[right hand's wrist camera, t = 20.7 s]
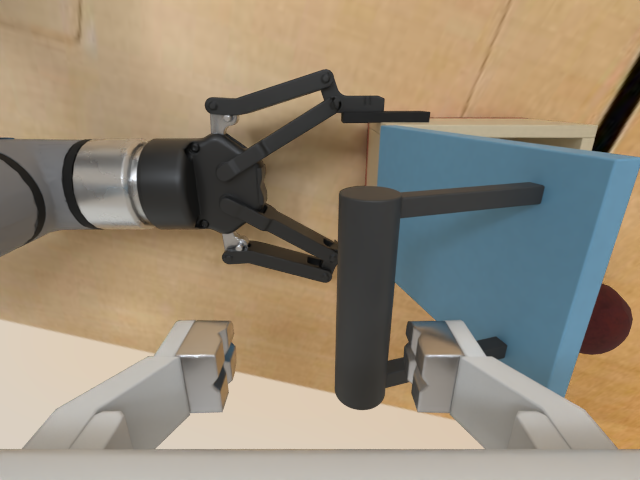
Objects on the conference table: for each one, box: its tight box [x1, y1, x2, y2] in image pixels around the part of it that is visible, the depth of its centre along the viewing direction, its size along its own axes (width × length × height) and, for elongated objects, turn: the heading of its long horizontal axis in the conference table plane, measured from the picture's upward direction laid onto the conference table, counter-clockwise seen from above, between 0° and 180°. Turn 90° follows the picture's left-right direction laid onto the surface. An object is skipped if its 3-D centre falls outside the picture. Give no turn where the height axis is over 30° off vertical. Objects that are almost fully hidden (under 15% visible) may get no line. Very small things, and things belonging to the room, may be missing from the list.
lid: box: [335, 125, 640, 410], centre depth 18 cm, size 15×10×9 cm
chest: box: [365, 118, 598, 186], centre depth 31 cm, size 15×10×10 cm
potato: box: [579, 284, 633, 355], centre depth 38 cm, size 7×8×7 cm
